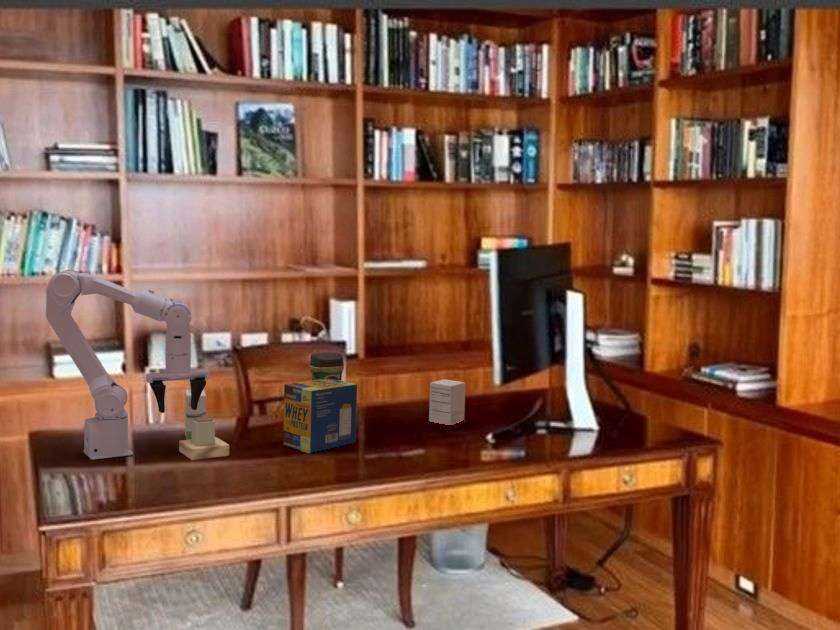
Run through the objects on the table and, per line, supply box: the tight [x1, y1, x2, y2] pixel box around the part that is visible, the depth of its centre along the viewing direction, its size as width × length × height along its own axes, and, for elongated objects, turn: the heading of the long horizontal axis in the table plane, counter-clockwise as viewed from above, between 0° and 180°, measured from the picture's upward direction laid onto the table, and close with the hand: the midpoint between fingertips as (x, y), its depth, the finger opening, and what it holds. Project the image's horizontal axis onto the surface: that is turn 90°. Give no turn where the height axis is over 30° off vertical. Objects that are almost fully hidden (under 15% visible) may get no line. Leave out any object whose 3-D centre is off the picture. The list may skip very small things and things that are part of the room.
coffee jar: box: [309, 351, 345, 381], centre depth 247 cm, size 10×8×19 cm
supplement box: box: [428, 378, 466, 425], centre depth 239 cm, size 7×7×13 cm
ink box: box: [184, 389, 207, 440], centre depth 218 cm, size 9×5×12 cm, turn 18°
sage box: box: [191, 415, 216, 446], centre depth 203 cm, size 4×4×6 cm
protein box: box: [283, 378, 358, 454], centre depth 215 cm, size 10×15×16 cm
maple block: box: [178, 436, 230, 461], centre depth 204 cm, size 9×9×3 cm
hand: (178, 410), depth 204 cm, fingers open, 7 cm apart
